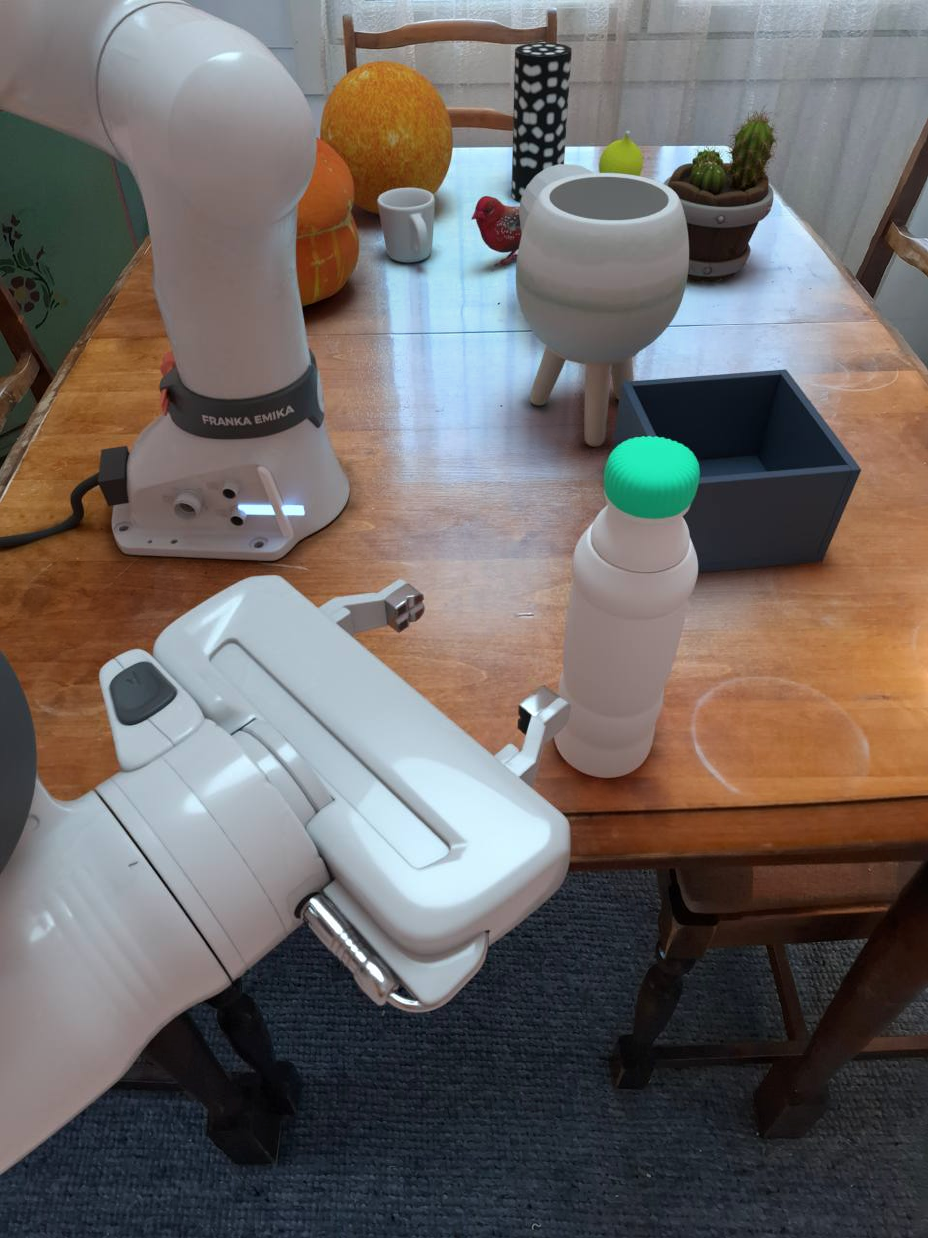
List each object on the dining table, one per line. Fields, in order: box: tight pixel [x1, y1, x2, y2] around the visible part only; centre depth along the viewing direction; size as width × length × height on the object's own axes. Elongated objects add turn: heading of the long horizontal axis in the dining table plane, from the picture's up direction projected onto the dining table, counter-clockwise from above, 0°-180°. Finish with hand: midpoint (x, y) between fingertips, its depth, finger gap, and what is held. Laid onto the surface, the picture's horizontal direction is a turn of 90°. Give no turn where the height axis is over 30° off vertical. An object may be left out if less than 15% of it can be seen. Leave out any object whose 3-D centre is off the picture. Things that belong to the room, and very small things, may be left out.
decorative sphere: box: [319, 60, 454, 215], centre depth 121 cm, size 20×20×20 cm
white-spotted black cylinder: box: [511, 42, 573, 203], centre depth 124 cm, size 8×8×20 cm
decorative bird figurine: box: [471, 195, 522, 267], centre depth 111 cm, size 3×18×10 cm, turn 132°
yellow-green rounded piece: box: [598, 130, 644, 177], centre depth 130 cm, size 7×7×10 cm
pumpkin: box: [296, 136, 360, 307], centre depth 101 cm, size 23×23×20 cm
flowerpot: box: [662, 103, 782, 284], centre depth 105 cm, size 14×15×20 cm
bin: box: [611, 368, 862, 574], centre depth 72 cm, size 16×16×10 cm
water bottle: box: [553, 436, 700, 779], centre depth 49 cm, size 7×7×25 cm
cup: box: [377, 188, 436, 263], centre depth 112 cm, size 11×8×8 cm
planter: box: [515, 172, 689, 448], centre depth 79 cm, size 16×16×22 cm
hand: (481, 645), depth 37 cm, fingers open, 8 cm apart
